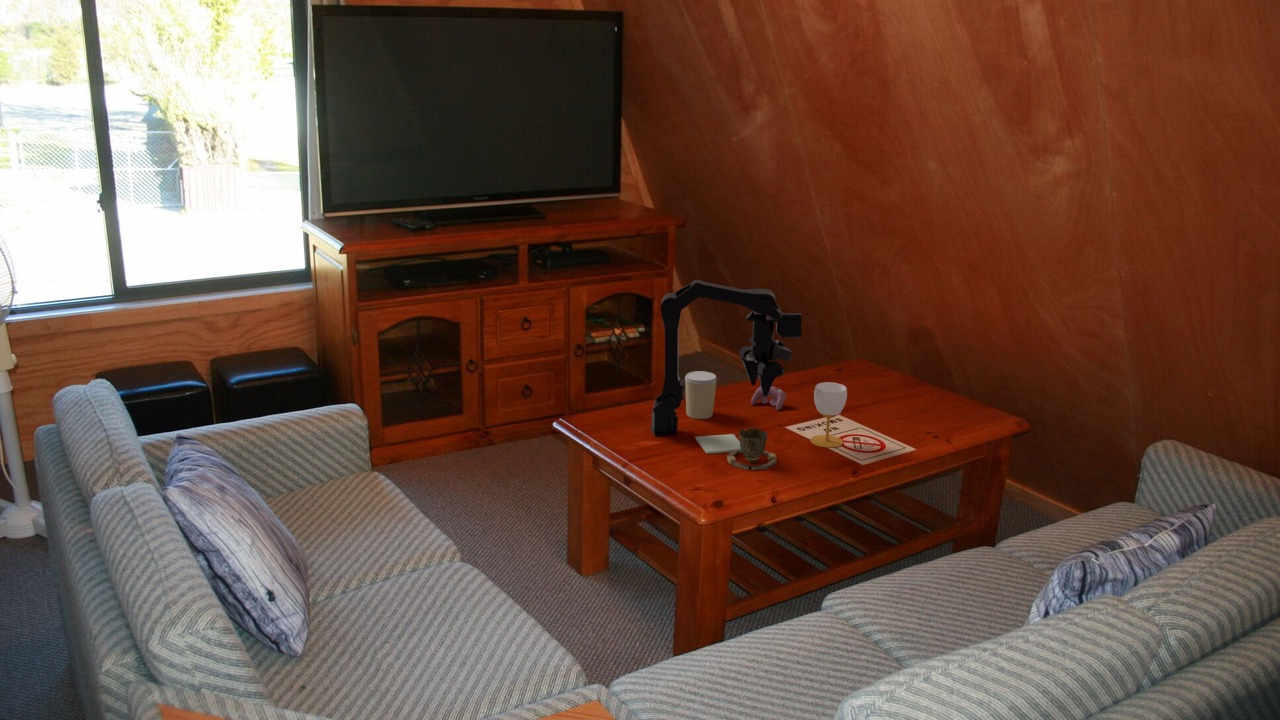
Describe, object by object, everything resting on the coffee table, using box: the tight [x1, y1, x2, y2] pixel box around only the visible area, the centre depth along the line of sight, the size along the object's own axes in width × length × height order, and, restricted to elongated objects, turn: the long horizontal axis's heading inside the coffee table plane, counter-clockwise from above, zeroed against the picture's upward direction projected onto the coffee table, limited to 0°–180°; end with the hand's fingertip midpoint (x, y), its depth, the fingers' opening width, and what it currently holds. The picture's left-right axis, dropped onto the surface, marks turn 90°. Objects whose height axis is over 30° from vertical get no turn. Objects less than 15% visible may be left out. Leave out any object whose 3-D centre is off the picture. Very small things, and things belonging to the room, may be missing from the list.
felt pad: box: [695, 433, 741, 454], centre depth 287 cm, size 11×11×1 cm
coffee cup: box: [684, 370, 718, 420], centre depth 307 cm, size 9×9×12 cm
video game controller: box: [750, 386, 787, 411], centre depth 317 cm, size 10×5×7 cm, turn 58°
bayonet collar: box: [726, 449, 778, 471], centre depth 276 cm, size 13×12×1 cm
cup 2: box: [810, 381, 848, 449], centre depth 288 cm, size 9×9×16 cm
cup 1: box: [738, 426, 769, 463], centre depth 275 cm, size 8×7×8 cm
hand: (759, 390), depth 289 cm, fingers open, 9 cm apart
